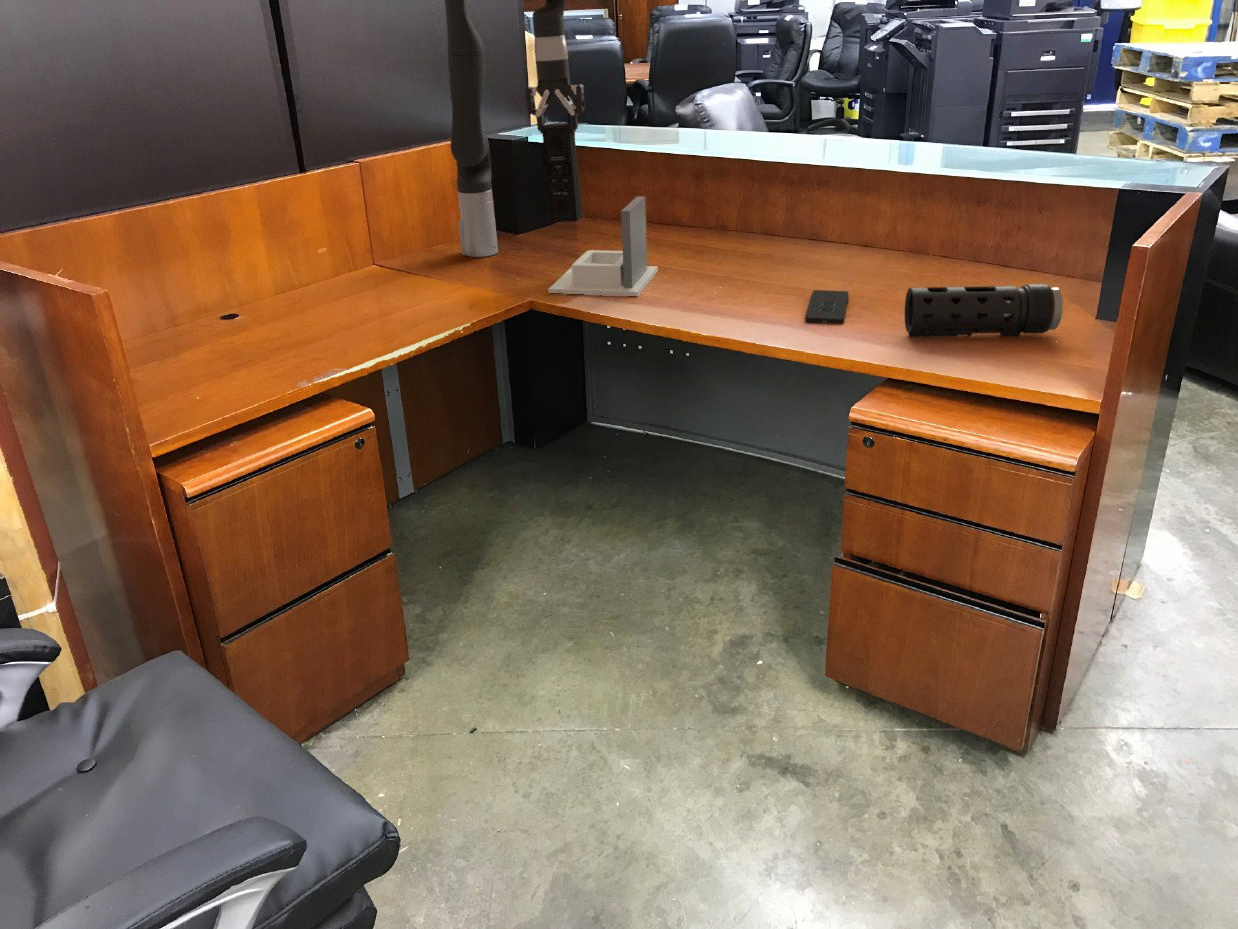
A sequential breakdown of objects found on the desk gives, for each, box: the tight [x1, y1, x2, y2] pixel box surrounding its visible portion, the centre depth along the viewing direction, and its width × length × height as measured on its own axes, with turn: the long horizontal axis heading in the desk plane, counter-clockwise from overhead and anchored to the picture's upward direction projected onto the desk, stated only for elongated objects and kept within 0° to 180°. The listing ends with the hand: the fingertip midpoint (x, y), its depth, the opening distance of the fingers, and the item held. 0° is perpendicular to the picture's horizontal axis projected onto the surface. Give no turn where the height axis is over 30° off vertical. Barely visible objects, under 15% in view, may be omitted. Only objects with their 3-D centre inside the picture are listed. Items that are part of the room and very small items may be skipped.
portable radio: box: [541, 111, 583, 223], centre depth 233 cm, size 8×6×25 cm
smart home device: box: [804, 289, 849, 325], centre depth 210 cm, size 8×2×20 cm
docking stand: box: [547, 196, 659, 297], centre depth 232 cm, size 22×22×19 cm
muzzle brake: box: [904, 283, 1064, 338], centre depth 189 cm, size 10×28×10 cm, turn 85°
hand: (558, 132), depth 229 cm, fingers closed on portable radio, 7 cm apart
